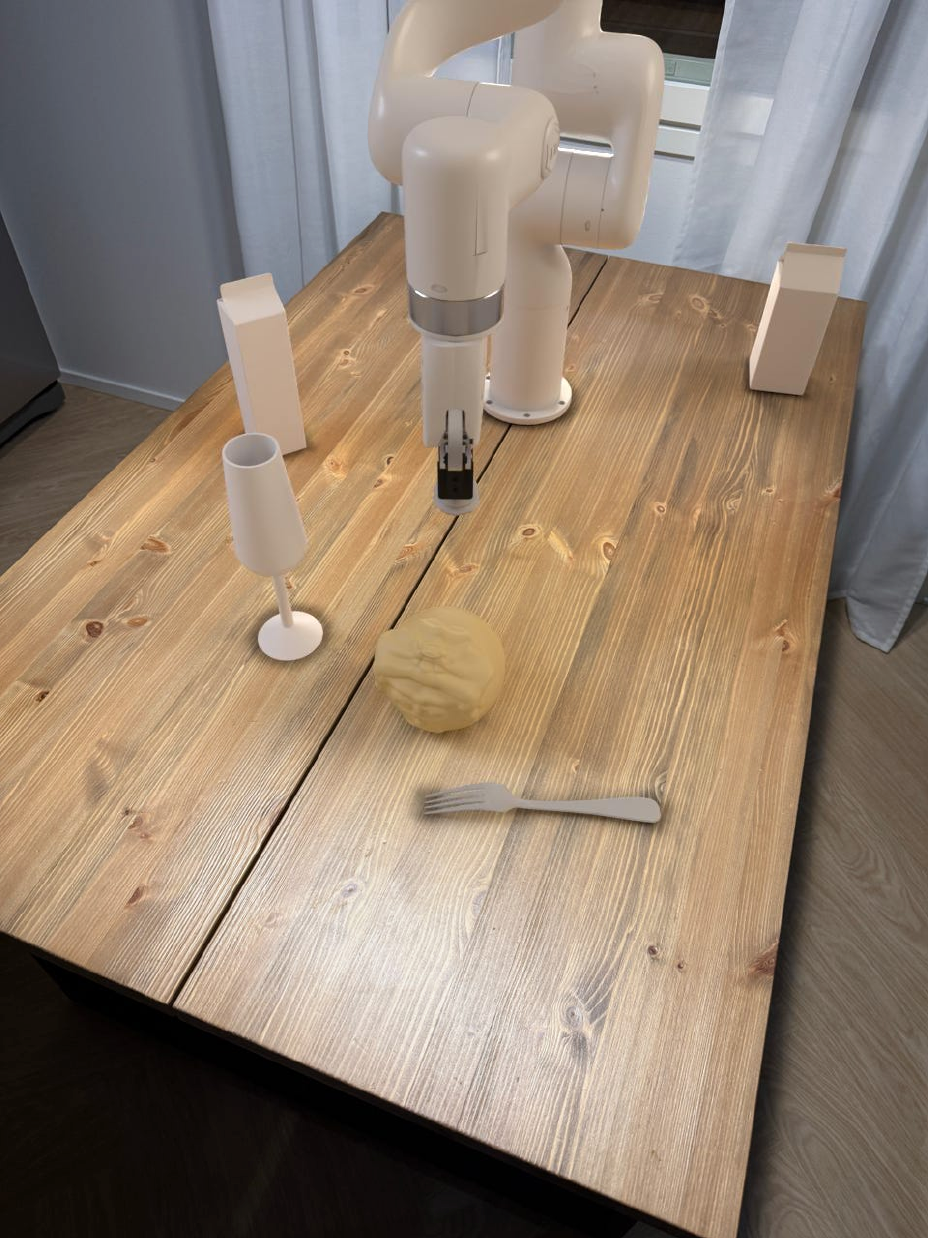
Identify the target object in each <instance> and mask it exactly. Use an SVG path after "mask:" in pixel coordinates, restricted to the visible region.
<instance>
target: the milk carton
mask: <svg viewBox="0 0 928 1238" xmlns="http://www.w3.org/2000/svg"><path fill="white" fill-rule="evenodd" d="M847 251H848V247H842V246H832V245H822V244H813V243H812V244H811V243H805V242H804V243H803V242H793V241H788V242H787V243H786V246H785V250H784V252H783V253H782V254H781V255H780V257H779V258H778V260H777V262H776V266H775V269H774V274H773V276H772V281H771V284H770V287H769V290H768V295H767V298H766V302H765V305H764V309H763V312H762V315H761V318H760V322H759V326H758V328H757V333H756V336H755V339H754V343H753V347H752V350H751V353H750V357H749V389H750V390H755V391H762V392H772V393H779V394H788V395H796V396H803V395H805V394H804V393H805V391H806V388H807V385H808V383H809V379H810V377H811V374H812V371H813V368H814V366H815V363H816V359H817V356H818V353H819V351H820V347H821V345H822V342H823V340H824V337H825V333H826V331H827V328H828V325H829V322H830V319H831V317H832V314H833V311H834V309H835V305H836V302H837V299H838V297H839V294H840V289H841V282H842V276H843V270H844V265H845V258H846V255H847Z"/></svg>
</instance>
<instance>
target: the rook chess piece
mask: <svg viewBox="0 0 928 1238" xmlns="http://www.w3.org/2000/svg"><path fill="white" fill-rule="evenodd" d="M444 433H448V432H444ZM463 433H466V432H463ZM439 447H440V443H439ZM472 448H473V445H471V449H472ZM473 449H474V448H473ZM446 453H448V445H446ZM462 453H465V445H463V452H462ZM471 458H472V454H471ZM432 500H433V505H434V506H435V507H436V508H437V509H438V510H439V511H440V512H442V513H444V514H446V515H448V516H453V517H457V516H464V515H467V514H469V513H472V511H473V510H475V509H476V508H477V507H478V505H479V503H480V500H481V497H480V489H479V485H478V482H476V480H475V478H474V477H473V498H472V499H470V500H442V499H439V498H438V484H437V481H435V485H434V488H433V496H432Z"/></svg>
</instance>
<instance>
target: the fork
mask: <svg viewBox="0 0 928 1238" xmlns="http://www.w3.org/2000/svg"><path fill="white" fill-rule="evenodd" d="M459 792H460V793H459ZM454 793H455V794H454ZM448 794H451V795H448ZM442 795H447V796H442ZM436 796H442V797H438V798H435V799H431V800H427V801H424V804H430V803H436V802H439V803H436V804H432V805H428V806H424V809H432V808H439V807H445V808H441V809H440V808H439V809H435V810H430V811H427V812H424V813H423V815H431V814H441V813H452V812H463V811H476V810H478V811H479V810H482V811H490V812H497V813H506V812H507V813H508V811H510V810H512V809H514V808H519V809H528V810H538V811H552V812H564V813H565V812H566V813H567V812H568V813H576V814H587V815H594V816H600V817H601V816H602V817H608V818H613V819H621V820H628V821H633V822H639V823H640V822H641V823H648V824H649V823H650V824H656V823H657V822H659V821H660V819H661V818H662V814H661V807H660V805H659V803H658V802H657V801H656V800H654V799H653V798H651V797H644V796H642V797H641V796H622V797H621V796H620V797H619V796H618V797H607V798H595V799H594V798H593V799H579V800H577V799H575V800H534V799H525V798H521V797H518V796H515V795H514V794H513V793H512V792H511V791H510V790H509V788H508V786H506V785H504V784H503V783H498V782H493V781H492V782H489V781H483V782H478V783H472V784H471V783H470V784H466V785H462V786H458V787H457V786H456V787H453V788H449V789H444V790H442V791H439V792H435V793H432V794H429V795H426V796H424V798H426V799H427V798H431V797H436ZM448 800H450V801H448ZM443 801H445V802H443ZM460 804H462V805H460ZM453 805H455V806H453ZM446 806H450V807H446Z"/></svg>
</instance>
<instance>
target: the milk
mask: <svg viewBox="0 0 928 1238" xmlns="http://www.w3.org/2000/svg"><path fill="white" fill-rule="evenodd" d="M273 279H274V277H273V275H272V273H271V272H266V273H262V274H258V275H255V276H250V277H246V278H242V279H238V280H233V281H230V282H226V283H222V284H221V285H220V286H219V291H220V295H221V298H218V299H217V300H216V305H217V310H218V314H219V319H220V323H221V327H222V333H223V337H224V342H225V346H226V349H227V350H226V351H227V355H228V360H229V365H230V369H231V374H232V377H233V383H234V387H235V391H236V393H235V394H236V397H237V403H238V406H239V410H240V415H241V418H242V419H241V420H242V425H243V429H244V434H246V433H263V434H267V435H269V436H271V437H273V438H274V439H276V441H277V442H278V444H279V447H280V450H281V453H282V456H285V455H288V454H291V453H294V452H297V451H300V450H304V449H306V448H307V440H306V435H305V427H304V422H303V415H302V409H301V401H300V395H299V390H298V382H297V376H296V370H295V364H294V363H295V362H294V357H293V352H292V344H291V338H290V331H289V325H288V320H287V311H286V309H285V307H284V305H283V302H282V300H281V298H280V296H279V294H278V292H277V291H278V290H276V287H275V285H274V280H273Z"/></svg>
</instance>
